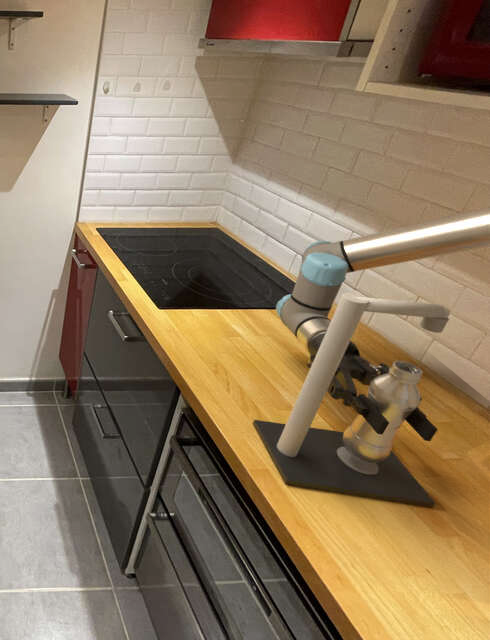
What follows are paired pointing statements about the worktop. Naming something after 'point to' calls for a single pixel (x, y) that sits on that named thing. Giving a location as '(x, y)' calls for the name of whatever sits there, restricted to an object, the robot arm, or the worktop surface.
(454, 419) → the worktop surface
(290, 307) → the robot arm
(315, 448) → the tap
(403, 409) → the plastic bottle
